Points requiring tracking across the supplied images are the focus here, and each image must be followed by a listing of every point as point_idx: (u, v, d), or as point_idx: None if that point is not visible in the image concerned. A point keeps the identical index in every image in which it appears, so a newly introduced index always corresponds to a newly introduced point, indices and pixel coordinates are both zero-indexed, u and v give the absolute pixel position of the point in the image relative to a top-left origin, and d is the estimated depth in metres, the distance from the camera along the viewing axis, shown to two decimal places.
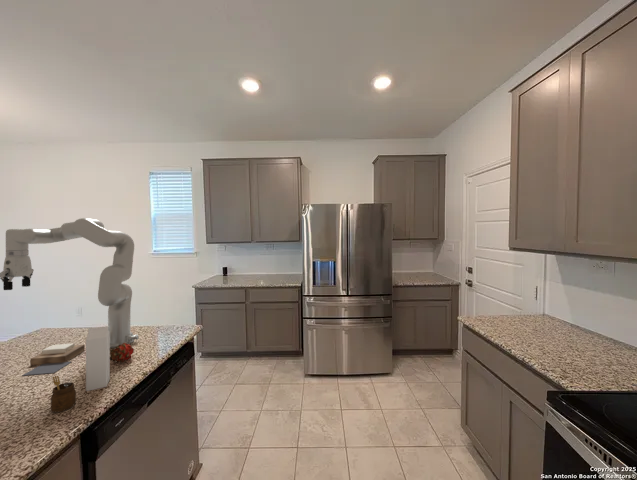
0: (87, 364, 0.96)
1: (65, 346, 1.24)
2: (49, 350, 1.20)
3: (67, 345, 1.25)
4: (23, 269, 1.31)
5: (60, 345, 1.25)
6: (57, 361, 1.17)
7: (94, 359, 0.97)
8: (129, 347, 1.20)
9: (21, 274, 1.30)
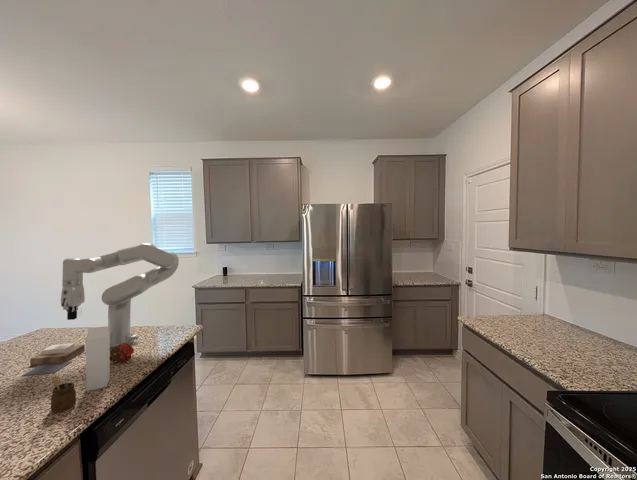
0: (87, 364, 0.96)
1: (65, 346, 1.24)
2: (49, 350, 1.20)
3: (67, 345, 1.25)
4: (78, 298, 1.33)
5: (60, 345, 1.25)
6: (57, 361, 1.17)
7: (94, 359, 0.97)
8: (129, 347, 1.20)
9: (76, 303, 1.32)
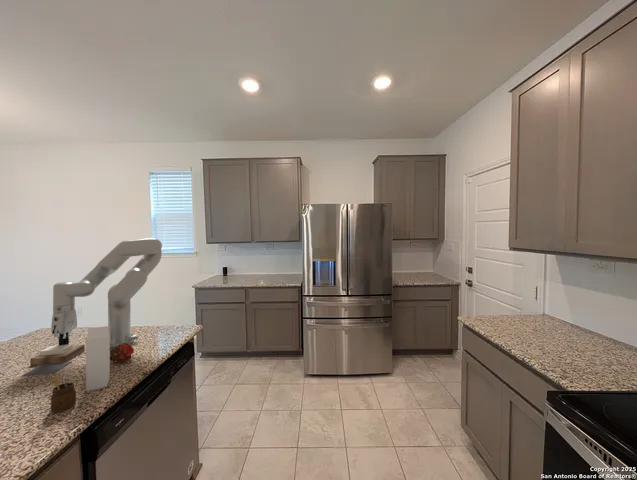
0: (87, 364, 0.96)
1: (63, 347, 1.22)
2: (47, 351, 1.19)
3: (65, 346, 1.24)
4: (70, 324, 1.27)
5: (58, 346, 1.23)
6: (57, 361, 1.17)
7: (94, 359, 0.97)
8: (129, 347, 1.20)
9: (68, 329, 1.26)
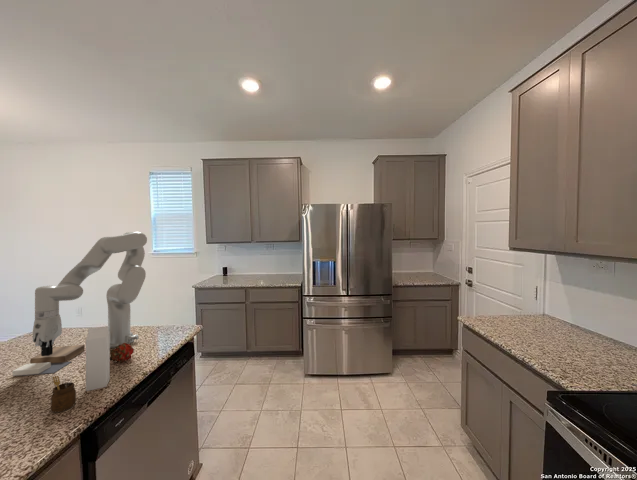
0: (87, 364, 0.96)
1: None
2: None
3: None
4: (53, 331, 1.17)
5: None
6: (57, 361, 1.17)
7: (94, 359, 0.97)
8: (129, 347, 1.20)
9: (51, 337, 1.16)
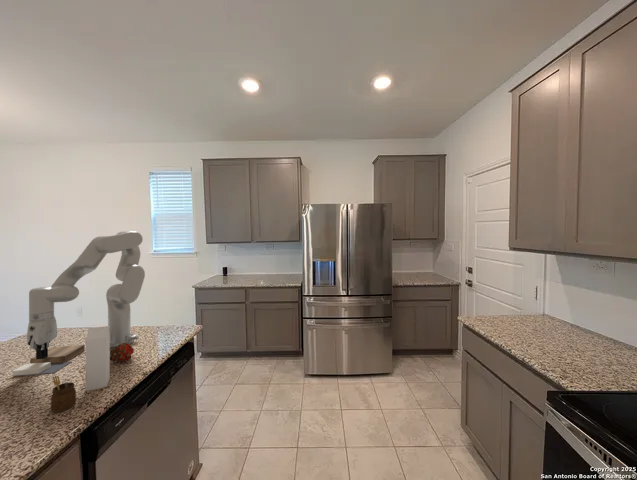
0: (87, 364, 0.96)
1: None
2: None
3: None
4: (48, 333, 1.14)
5: None
6: (57, 361, 1.17)
7: (94, 359, 0.97)
8: (129, 347, 1.20)
9: (46, 340, 1.13)
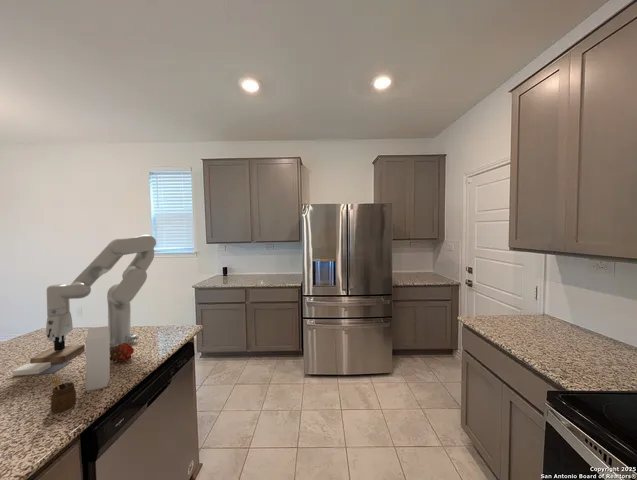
0: (87, 364, 0.96)
1: None
2: None
3: None
4: (65, 327, 1.24)
5: None
6: (57, 361, 1.17)
7: (94, 359, 0.97)
8: (129, 347, 1.20)
9: (64, 333, 1.22)
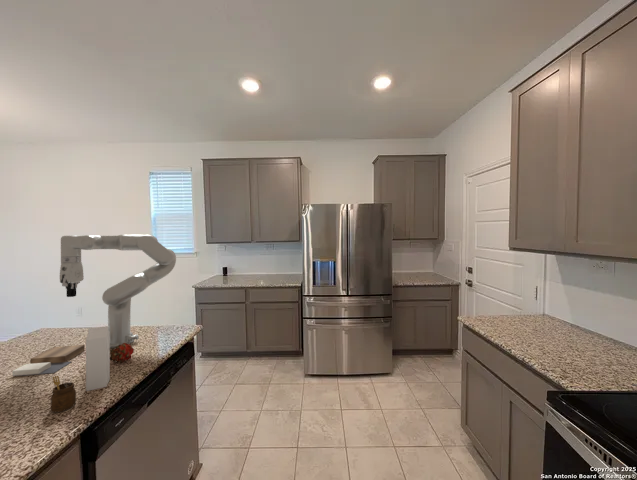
0: (87, 364, 0.96)
1: None
2: None
3: None
4: (77, 275, 1.32)
5: None
6: (57, 361, 1.17)
7: (94, 359, 0.97)
8: (129, 347, 1.20)
9: (75, 280, 1.31)
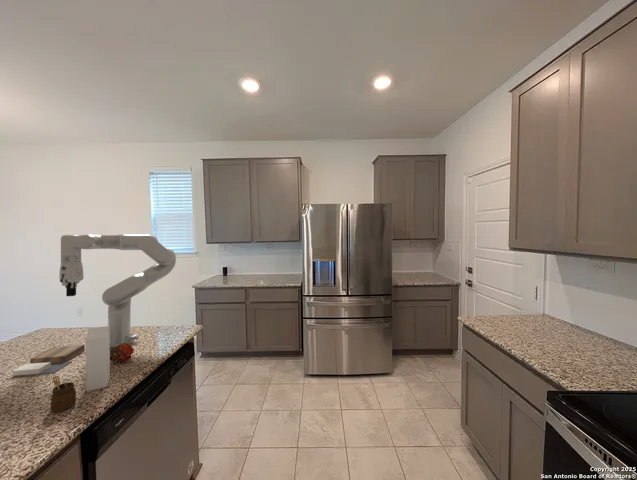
0: (87, 364, 0.96)
1: None
2: None
3: None
4: (77, 274, 1.32)
5: None
6: (57, 361, 1.17)
7: (94, 359, 0.97)
8: (129, 347, 1.20)
9: (75, 279, 1.31)
